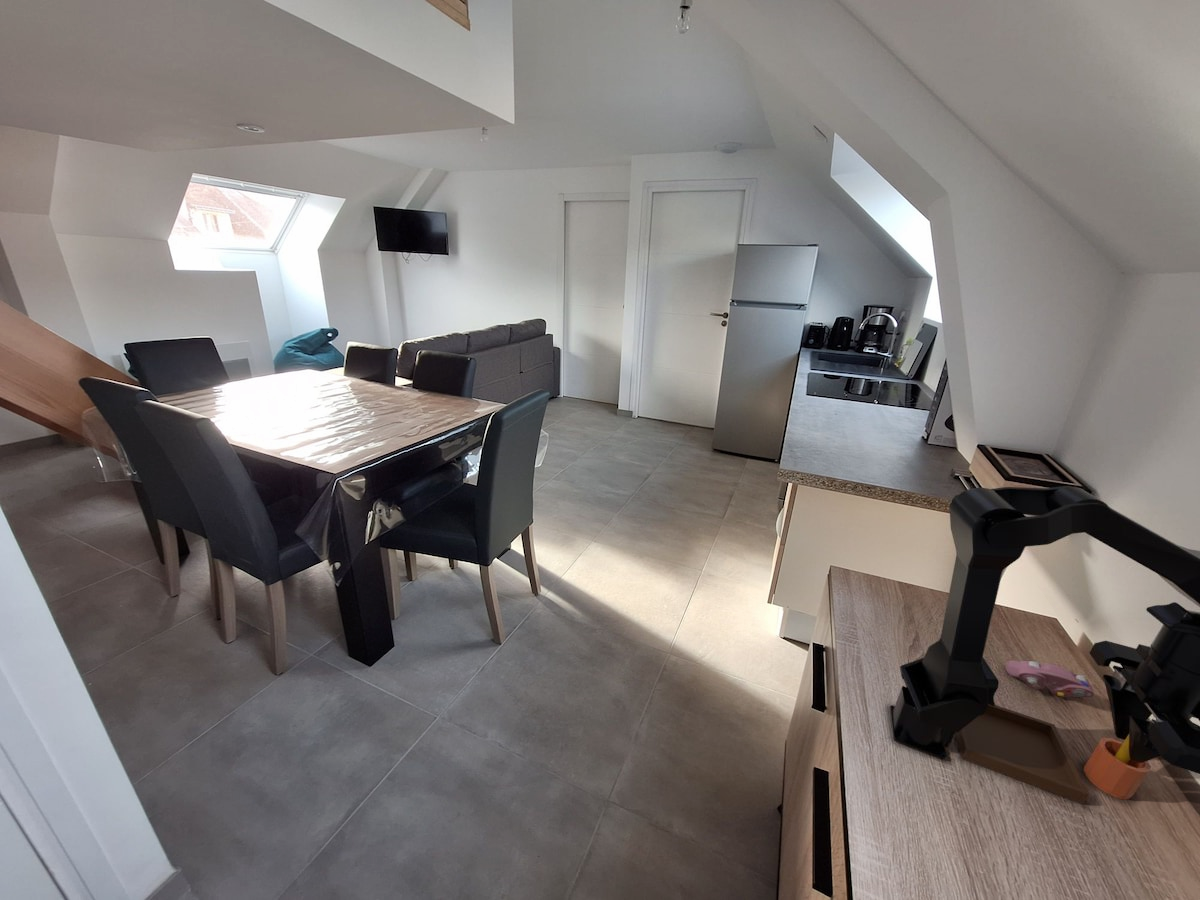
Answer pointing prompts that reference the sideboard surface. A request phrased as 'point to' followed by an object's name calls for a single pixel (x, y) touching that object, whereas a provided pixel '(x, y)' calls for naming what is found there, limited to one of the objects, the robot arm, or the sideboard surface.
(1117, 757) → the pencil
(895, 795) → the sideboard surface
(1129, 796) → the pen pot
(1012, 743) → the tray
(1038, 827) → the sideboard surface
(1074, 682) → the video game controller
